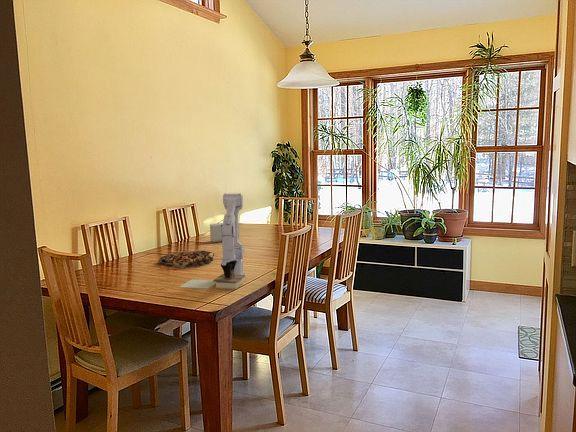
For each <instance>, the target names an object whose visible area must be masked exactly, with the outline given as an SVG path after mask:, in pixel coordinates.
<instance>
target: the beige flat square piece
mask: <svg viewBox="0 0 576 432" xmlns="http://www.w3.org/2000/svg"><path fill="white" fill-rule="evenodd" d="M213 280H214V279H211V280H210V279H196V278H195V279H190V280H188V281H187V282H185V283H183V284H182V285H180V286H178V288H180V289H181V288H182V289H183V288H184V289H198V290H199V289H200V290H209V289H210V288H212V287H213V286H214V285H216V282H213Z"/></svg>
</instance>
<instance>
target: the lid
mask: <svg viewBox="0 0 576 432" xmlns="http://www.w3.org/2000/svg"><path fill="white" fill-rule="evenodd" d="M245 277H246V275H245V274H244V275H235V273H234V270H231V274H230V278H225V274H224V273H222V274H221V275H219V276H217V277H216V278H214V279H212V280H213V282H232V283H237V282H238V281H240V280H241V279H242V280H243V279H244V278H245Z"/></svg>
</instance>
